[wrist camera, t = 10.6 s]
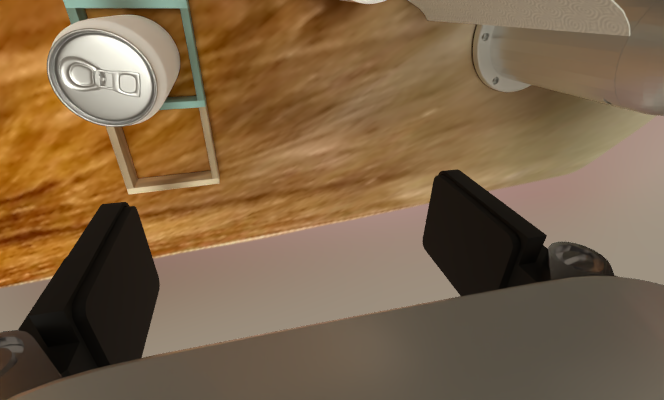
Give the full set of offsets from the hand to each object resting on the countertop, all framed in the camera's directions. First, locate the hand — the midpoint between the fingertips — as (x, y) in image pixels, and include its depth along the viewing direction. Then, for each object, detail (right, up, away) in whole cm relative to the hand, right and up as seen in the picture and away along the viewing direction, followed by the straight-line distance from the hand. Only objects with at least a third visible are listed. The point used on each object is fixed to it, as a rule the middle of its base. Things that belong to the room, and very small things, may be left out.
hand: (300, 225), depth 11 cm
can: (-16, +14, +19) cm, 29 cm away
